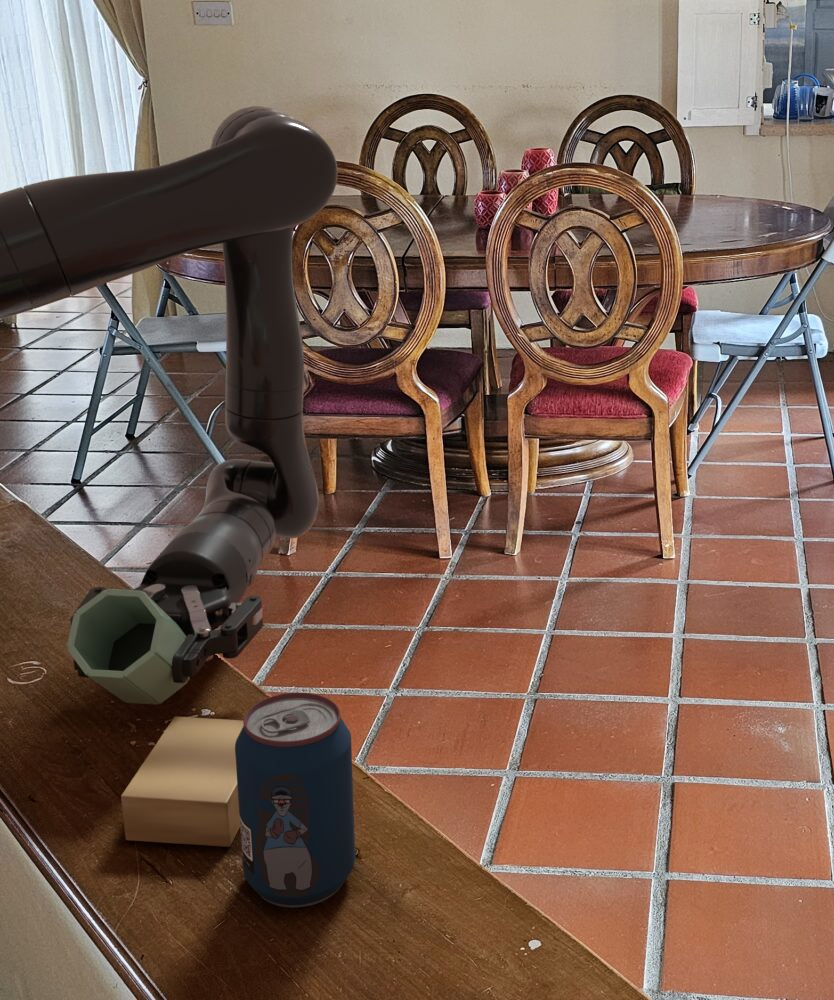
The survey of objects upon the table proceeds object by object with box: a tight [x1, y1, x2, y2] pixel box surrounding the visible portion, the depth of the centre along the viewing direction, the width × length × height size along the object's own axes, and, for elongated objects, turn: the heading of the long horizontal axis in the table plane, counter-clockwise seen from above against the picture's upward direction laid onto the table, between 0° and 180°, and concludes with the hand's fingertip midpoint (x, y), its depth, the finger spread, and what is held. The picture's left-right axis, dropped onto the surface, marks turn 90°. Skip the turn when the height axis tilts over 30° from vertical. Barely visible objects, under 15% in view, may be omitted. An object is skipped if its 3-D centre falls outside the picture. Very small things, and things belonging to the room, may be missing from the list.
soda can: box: [235, 691, 356, 909], centre depth 81 cm, size 7×7×12 cm
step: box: [120, 716, 244, 848], centre depth 89 cm, size 10×7×4 cm
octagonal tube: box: [66, 588, 191, 706], centre depth 94 cm, size 8×6×6 cm
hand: (129, 668), depth 94 cm, fingers closed on octagonal tube, 6 cm apart
